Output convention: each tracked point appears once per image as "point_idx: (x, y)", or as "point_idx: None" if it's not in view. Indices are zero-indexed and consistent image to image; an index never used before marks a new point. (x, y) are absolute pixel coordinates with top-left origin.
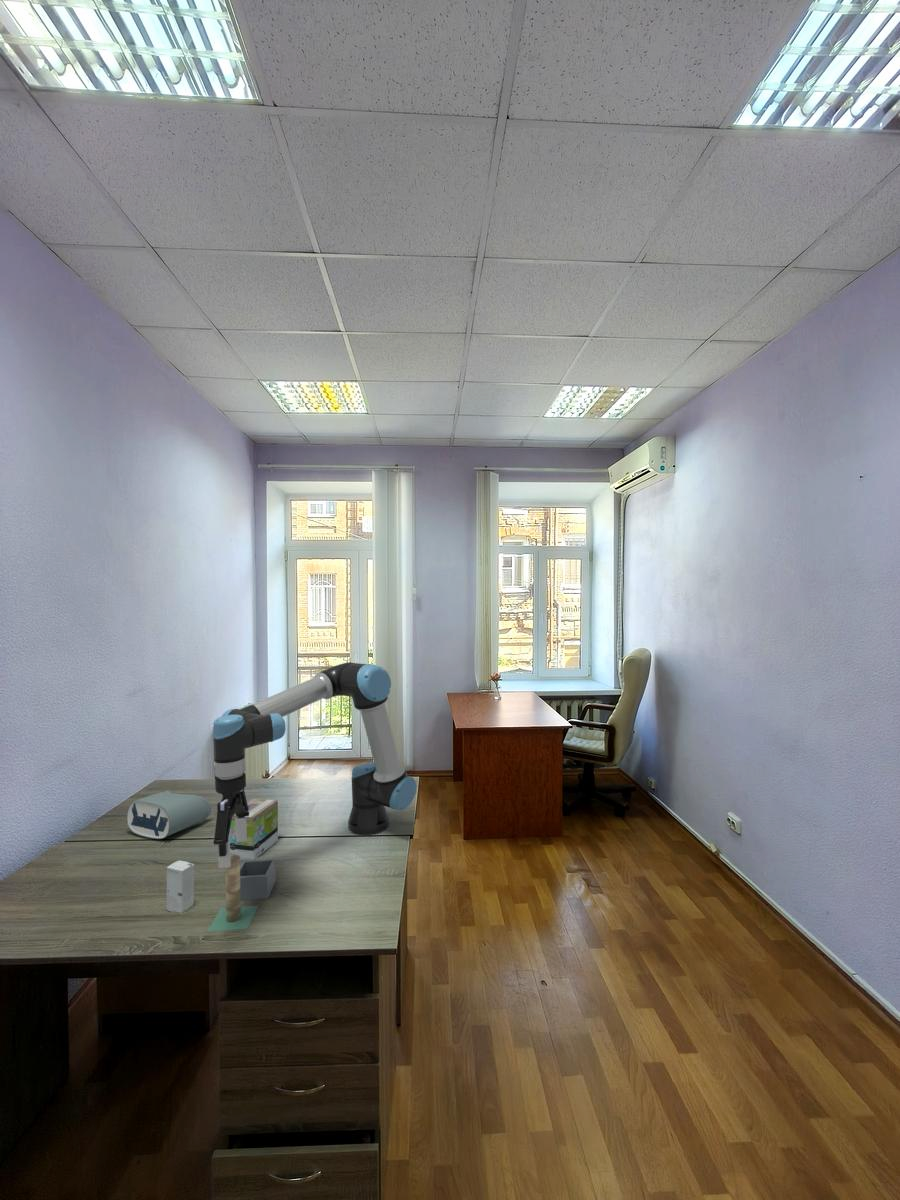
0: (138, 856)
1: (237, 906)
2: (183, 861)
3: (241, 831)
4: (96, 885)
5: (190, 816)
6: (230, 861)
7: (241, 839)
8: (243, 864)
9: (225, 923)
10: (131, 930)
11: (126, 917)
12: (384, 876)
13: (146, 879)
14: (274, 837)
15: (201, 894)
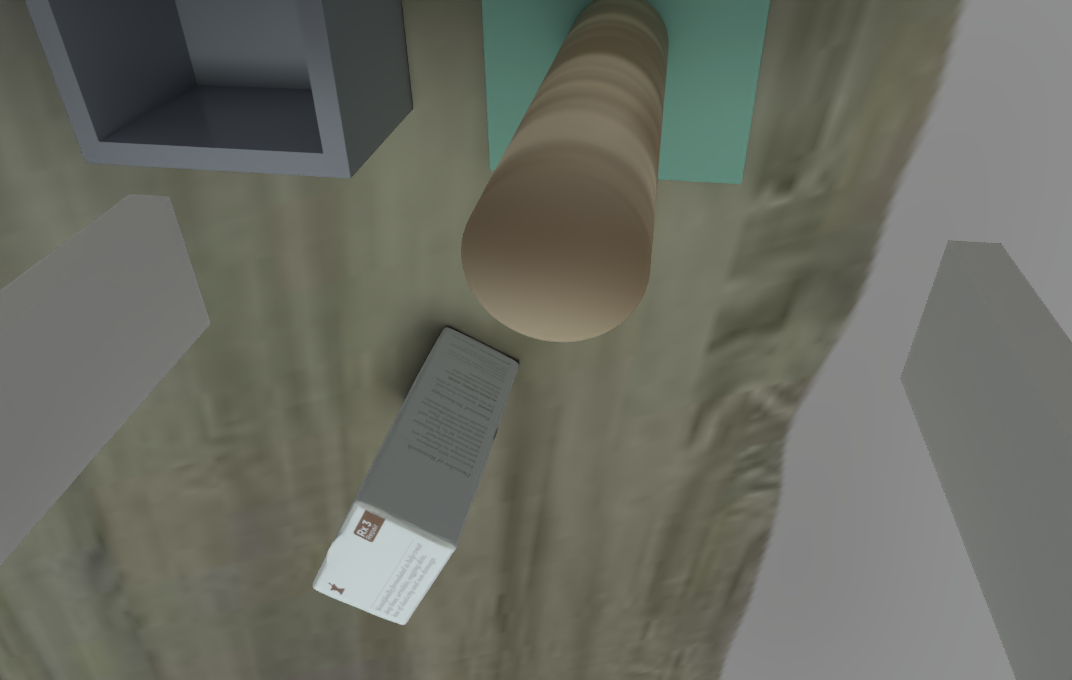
0: (78, 615)
1: (646, 31)
2: (328, 565)
3: (91, 345)
4: (296, 674)
5: None
6: (975, 277)
7: (170, 274)
8: (135, 144)
9: (675, 87)
10: (618, 516)
11: (515, 553)
12: None
13: (232, 557)
14: None
15: (328, 317)
